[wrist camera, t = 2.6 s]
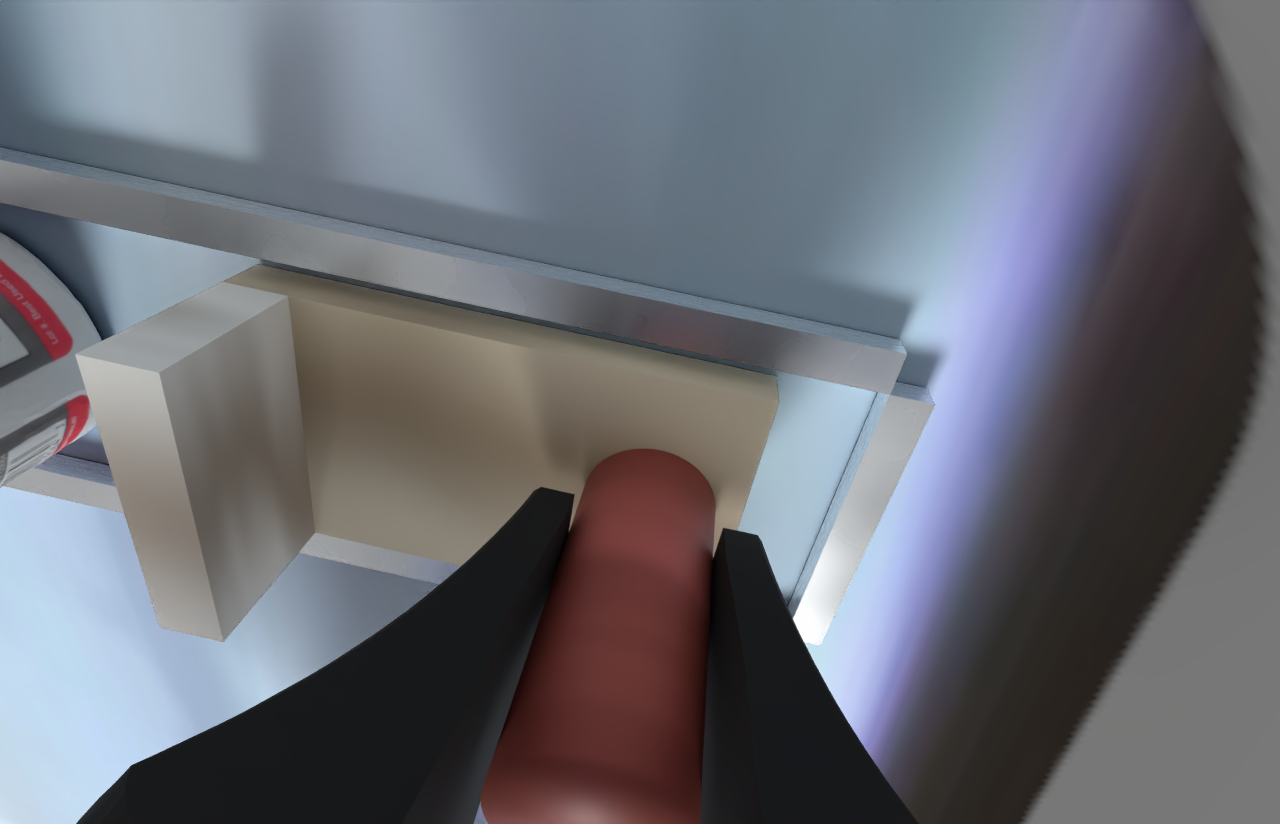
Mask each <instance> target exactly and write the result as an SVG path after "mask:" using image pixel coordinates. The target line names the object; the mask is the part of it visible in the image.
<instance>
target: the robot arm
mask: <svg viewBox="0 0 1280 824" xmlns="http://www.w3.org/2000/svg"><path fill="white" fill-rule="evenodd" d="M574 496H575V494H571V493H567V492H562V491H558V490H553V489H549V488H544V487H540V488H538V489H536V490H534V491H533V492H532V494H531V495H530V496H529V498H528V499H527V500H526V501H525V502H524V503H523V505H522V506H521V507H520V508H519V509H518V510H517V511H516V513H515V514H514V515H513V516H512V517H511V518H510V519H509V520H508V521H507V522H506V523H505V524H504V525H503V526H502V527H501V528H500V529H499V531H498V532H497V533H496V534H495V535H494V536H493V537H491V538H490V539H489V540H488V541H487V542H486V543H485V544H484V545H483V546H482V547H481V548H480V549H479V550H478V551H477V552H476V553H475V554H474V555H473V556H472V557H471V558H470V559H469V560H467V561H466V562H465V563H464V564H463V565H462V566H461V567H460V568H458V569H457V570H456V571H455V572H454V573H453V574H451V575H450V576H449V577H448V578H447V579H446V580H444V581H443V582H442V583H441V584H440V585H438V586H437V587H436V588H435V589H434V590H433V591H431V592H430V593H429V594H428V595H427V596H425V597H424V598H423V599H422V600H420V601H419V602H418V603H416V604H415V605H414V606H413V607H411V608H410V609H409V610H407V611H406V612H405V613H403V614H402V615H401V616H399V617H398V618H397V619H395V620H394V621H392V622H391V623H390V624H388V625H387V626H385V627H384V628H383V629H381V630H380V631H378V632H377V633H376V634H374V635H373V636H371V637H370V638H368V639H367V640H365V641H363V642H362V643H360V644H359V645H357V646H356V647H354V648H353V649H351V650H350V651H348V652H347V653H345V654H344V655H342V656H341V657H339V658H338V659H336V660H334V661H333V662H331V663H330V664H328V665H326V666H325V667H323V668H321V669H320V670H318V671H316V672H315V673H313V674H311V675H310V676H308V677H306V678H304V679H303V680H301V681H299V682H297V683H295V684H294V685H292V686H290V687H288V688H286V689H284V690H283V691H281V692H279V693H277V694H275V695H274V696H272V697H270V698H268V699H266V700H265V701H263V702H261V703H259V704H257V705H256V706H254V707H252V708H250V709H248V710H247V711H245V712H243V713H241V714H239V715H237V716H235V717H233V718H231V719H229V720H227V721H225V722H223V723H221V724H219V725H217V726H215V727H212V728H210V729H208V730H206V731H204V732H202V733H200V734H198V735H196V736H193V737H191V738H189V739H187V740H185V741H183V742H181V743H179V744H177V745H174V746H172V747H170V748H168V749H166V750H164V751H162V752H160V753H158V754H155V755H153V756H151V757H149V758H147V759H144V760H142V761H140V762H138V763H136V764H133V765H131V766H130V767H129V769H128V770H127V771H126V772H125V773H124V774H123V775H122V776H121V777H120V778H119V779H118V780H117V781H116V782H115V783H114V784H113V785H112V786H111V787H110V788H109V789H108V790H107V791H106V792H105V793H104V794H103V795H102V796H101V797H100V798H99V799H98V800H97V801H96V802H95V803H94V804H93V805H92V807H91V808H90V809H89V810H88V811H87V812H86V813H85V814H84V815H83V816H82V817H81V819H80V820H79V821H78V822H77V823H76V824H488V822H487V821H486V819H485V817H484V814H483V812H482V808H481V798H480V797H481V792H482V788H483V785H484V782H485V779H486V776H487V773H488V770H489V767H490V764H491V762H492V759H493V756H494V753H495V750H496V747H497V744H498V741H499V738H500V735H501V732H502V729H503V726H504V723H505V720H506V717H507V714H508V711H509V708H510V705H511V702H512V699H513V696H514V693H515V690H516V688H517V685H518V682H519V679H520V676H521V673H522V670H523V667H524V664H525V661H526V658H527V655H528V652H529V649H530V646H531V643H532V640H533V637H534V634H535V631H536V628H537V625H538V622H539V619H540V616H541V614H542V611H543V608H544V605H545V602H546V599H547V596H548V593H549V590H550V587H551V584H552V581H553V578H554V575H555V572H556V569H557V566H558V563H559V560H560V557H561V554H562V551H563V548H564V545H565V542H566V540H567V537H568V534H569V528H570V522H571V515H572V509H573V503H574ZM700 824H919V823H918V821H917V820H916V819H915V817H914V816H913V815H912V814H911V812H910V811H909V810H908V808H907V807H906V806H905V804H904V803H903V802H902V800H901V799H900V798H899V796H898V795H897V794H896V792H895V791H894V790H893V788H892V787H891V786H890V784H889V783H888V782H887V780H886V779H885V777H884V776H883V774H882V773H881V772H880V770H879V769H878V767H877V766H876V764H875V763H874V761H873V760H872V758H871V757H870V755H869V754H868V752H867V751H866V750H865V748H864V746H863V745H862V743H861V742H860V740H859V739H858V737H857V735H856V734H855V732H854V731H853V729H852V728H851V726H850V724H849V723H848V721H847V720H846V718H845V716H844V715H843V713H842V711H841V710H840V708H839V706H838V705H837V703H836V701H835V699H834V698H833V696H832V694H831V692H830V691H829V689H828V687H827V685H826V683H825V682H824V680H823V678H822V676H821V674H820V672H819V670H818V669H817V667H816V665H815V663H814V661H813V659H812V657H811V655H810V653H809V651H808V649H807V647H806V645H805V643H804V641H803V639H802V637H801V635H800V633H799V631H798V629H797V626H796V624H795V622H794V620H793V618H792V616H791V614H790V612H789V609H788V607H787V605H786V602H785V600H784V598H783V595H782V593H781V591H780V588H779V586H778V583H777V581H776V579H775V576H774V574H773V571H772V568H771V566H770V563H769V561H768V558H767V555H766V552H765V550H764V547H763V544H762V541H761V540H760V538H759V537H758V535H754V534H749V533H745V532H741V531H736V530H732V529H727V528H723V529H722V532H721V536H720V539H719V542H718V545H717V548H716V551H715V554H714V557H713V567H712V588H711V608H710V628H709V648H708V669H707V689H706V709H705V729H704V749H703V769H702V789H701V809H700Z"/></svg>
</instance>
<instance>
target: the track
mask: <svg viewBox="0 0 1280 824" xmlns="http://www.w3.org/2000/svg"><path fill="white" fill-rule="evenodd" d="M0 203H4V204H8V205H13V206H18V207H22V208H27V209H32V210H36V211H41V212H45V213H50V214H55V215H59V216H64V217H69V218H73V219H78V220H83V221H87V222H92V223H96V224H101V225H106V226H110V227H115V228H120V229H124V230H129V231H133V232H138V233H143V234H147V235H152V236H157V237H161V238H166V239H171V240H175V241H180V242H184V243H189V244H194V245H198V246H203V247H208V248H212V249H217V250H221V251H226V252H231V253H235V254H240V255H245V256H249V257H254V258H259V259H263V260H268V261H272V262H277V263H282V264H286V265H291V266H296V267H300V268H305V269H310V270H314V271H319V272H323V273H328V274H333V275H337V276H342V277H347V278H351V279H356V280H360V281H365V282H370V283H374V284H379V285H384V286H388V287H393V288H398V289H402V290H407V291H411V292H416V293H421V294H425V295H430V296H435V297H439V298H444V299H448V300H453V301H458V302H462V303H467V304H472V305H476V306H481V307H486V308H490V309H495V310H499V311H504V312H509V313H513V314H518V315H523V316H527V317H532V318H536V319H541V320H546V321H550V322H555V323H560V324H564V325H569V326H574V327H578V328H583V329H587V330H592V331H597V332H601V333H606V334H611V335H615V336H620V337H624V338H629V339H634V340H638V341H643V342H648V343H652V344H657V345H662V346H666V347H671V348H675V349H680V350H685V351H689V352H694V353H699V354H703V355H708V356H713V357H717V358H722V359H726V360H731V361H736V362H740V363H745V364H750V365H754V366H759V367H763V368H768V369H773V370H777V371H782V372H787V373H791V374H796V375H801V376H805V377H810V378H814V379H819V380H824V381H828V382H833V383H838V384H842V385H847V386H851V387H856V388H861V389H865V390H870V391H875V392H878V393H877V396H876V398H875V400H874V403H873V405H872V408H871V410H870V412H869V415H868V417H867V419H866V422H865V424H864V427H863V429H862V431H861V434H860V436H859V439H858V441H857V443H856V446H855V448H854V450H853V453H852V455H851V458H850V460H849V462H848V465H847V467H846V470H845V472H844V474H843V477H842V479H841V481H840V484H839V486H838V489H837V491H836V493H835V496H834V498H833V500H832V503H831V505H830V508H829V510H828V512H827V515H826V517H825V520H824V522H823V524H822V527H821V529H820V531H819V534H818V536H817V539H816V541H815V543H814V546H813V548H812V551H811V553H810V555H809V558H808V560H807V562H806V565H805V567H804V570H803V572H802V574H801V577H800V579H799V582H798V584H797V586H796V589H795V591H794V593H793V596H792V598H791V601H790V603H789V605H788V609H789V612H790V614H791V616H792V618H793V620H794V622H795V624H796V626H797V629H798V631H799V633H800V635H801V637H802V639H803V641H804V642H806V643H811V644H815V645H821V643H822V641H823V638H824V636H825V634H826V632H827V630H828V628H829V626H830V624H831V622H832V620H833V618H834V615H835V613H836V611H837V609H838V607H839V605H840V603H841V601H842V599H843V597H844V595H845V592H846V590H847V588H848V586H849V584H850V582H851V580H852V578H853V576H854V574H855V572H856V569H857V567H858V565H859V563H860V561H861V559H862V557H863V555H864V553H865V551H866V548H867V546H868V544H869V542H870V540H871V538H872V536H873V534H874V532H875V530H876V528H877V525H878V523H879V521H880V519H881V517H882V515H883V513H884V511H885V509H886V507H887V505H888V502H889V500H890V498H891V496H892V494H893V492H894V490H895V488H896V486H897V484H898V482H899V479H900V477H901V475H902V473H903V471H904V469H905V467H906V465H907V463H908V461H909V459H910V456H911V454H912V452H913V450H914V448H915V446H916V444H917V442H918V440H919V438H920V436H921V433H922V431H923V429H924V427H925V425H926V423H927V421H928V419H929V417H930V415H931V413H932V410H933V408H934V406H935V403H934V401H933V399H932V397H931V395H930V393H929V392H928V390H927V388H923V387H918V386H914V385H909V384H904V383H900V382H896V380H897V377H898V375H899V373H900V370H901V368H902V366H903V363H904V361H905V359H906V356H907V352H906V350H905V348H904V346H903V345H902V343H901V341H900V340H899V339H895V338H890V337H885V336H881V335H876V334H871V333H867V332H862V331H857V330H852V329H848V328H843V327H838V326H834V325H829V324H824V323H820V322H815V321H810V320H806V319H801V318H796V317H792V316H787V315H782V314H778V313H773V312H768V311H764V310H759V309H754V308H750V307H745V306H740V305H736V304H731V303H726V302H722V301H717V300H712V299H708V298H703V297H698V296H694V295H689V294H684V293H679V292H675V291H670V290H665V289H661V288H656V287H651V286H647V285H642V284H637V283H633V282H628V281H623V280H619V279H614V278H609V277H605V276H600V275H595V274H591V273H586V272H581V271H577V270H572V269H567V268H563V267H558V266H553V265H549V264H544V263H539V262H535V261H530V260H525V259H520V258H516V257H511V256H506V255H502V254H497V253H492V252H488V251H483V250H478V249H474V248H469V247H464V246H460V245H455V244H450V243H446V242H441V241H436V240H432V239H427V238H422V237H418V236H413V235H408V234H404V233H399V232H394V231H390V230H385V229H380V228H376V227H371V226H366V225H361V224H357V223H352V222H347V221H343V220H338V219H333V218H329V217H324V216H319V215H315V214H310V213H305V212H301V211H296V210H291V209H287V208H282V207H277V206H273V205H268V204H263V203H259V202H254V201H249V200H245V199H240V198H235V197H231V196H226V195H221V194H217V193H212V192H207V191H202V190H198V189H193V188H188V187H184V186H179V185H174V184H170V183H165V182H160V181H156V180H151V179H146V178H142V177H137V176H132V175H128V174H123V173H118V172H114V171H109V170H104V169H100V168H95V167H90V166H86V165H81V164H76V163H72V162H67V161H62V160H58V159H53V158H48V157H43V156H39V155H34V154H29V153H25V152H20V151H15V150H11V149H6V148H1V147H0ZM4 486H6V487H10V488H15V489H19V490H23V491H28V492H32V493H37V494H41V495H46V496H50V497H54V498H59V499H63V500H68V501H72V502H76V503H81V504H85V505H90V506H94V507H99V508H103V509H107V510H112V511H116V512H121V513H124V511H123V508H122V504H121V501H120V498H119V495H118V491H117V488H116V485H115V482H114V479H113V475H112V472H111V469H110V466H108V465H104V464H100V463H95V462H91V461H86V460H82V459H77V458H73V457H68V456H64V455H59V454H54V455H53V456H51V457H49V458H48V459H46V460H45V461H44V462H42V463H41V464H39V465H37V466H35V467H33V468H31V469H30V470H28V471H27V472H25V473H24V474H22V475H21V476H19V477H17V478H16V479H14V480H12V481H11V482H9V483H7V484H6V485H4ZM299 553H302V554H306V555H311V556H315V557H320V558H324V559H328V560H333V561H337V562H342V563H346V564H351V565H355V566H359V567H364V568H368V569H373V570H377V571H381V572H386V573H390V574H395V575H399V576H404V577H408V578H412V579H417V580H421V581H426V582H430V583H435V584H439V585H440V584H441V583H442V582H443V581H444V580H446V579H447V578H448V577H449V576H450V575H451V574H453V573H454V572H455V571H456V570H457V569H458V568H460V567H461V566H460V565H456V564H451V563H447V562H442V561H438V560H434V559H429V558H425V557H420V556H416V555H411V554H407V553H403V552H398V551H394V550H389V549H385V548H380V547H376V546H371V545H367V544H363V543H358V542H354V541H349V540H345V539H340V538H336V537H332V536H327V535H323V534H318V533H315V534H314V535H313V536H312V537H311V538H310V540H309V541H308V542H307V543H306V544H305V545H304V547H303V548H302V549H301V550H300V551H299Z"/></svg>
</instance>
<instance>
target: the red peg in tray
mask: <svg viewBox="0 0 1280 824" xmlns="http://www.w3.org/2000/svg"><path fill="white" fill-rule="evenodd" d="M75 356H76V359H77V362H78V366H79V369H80V372H81V375H82V379H83V382H84V385H85V388H86V391H87V395H88V398H89V401H90V404H91V408H92V411H93V414H94V417H95V420H96V424H97V427H98V430H99V433H100V437H101V440H102V443H103V446H104V450H105V453H106V456H107V459H108V462H109V466H110V469H111V472H112V475H113V479H114V482H115V485H116V488H117V491H118V495H119V498H120V501H121V504H122V508H123V511H124V514H125V517H126V520H127V524H128V527H129V530H130V533H131V537H132V540H133V543H134V546H135V550H136V553H137V556H138V559H139V562H140V566H141V569H142V572H143V575H144V579H145V582H146V585H147V588H148V591H149V595H150V598H151V601H152V604H153V608H154V611H155V614H156V617H157V620H158V624H159V627H160V628H164V629H169V630H173V631H177V632H182V633H186V634H191V635H195V636H199V637H204V638H208V639H212V640H217V641H221V642H224V641H225V639H226V638H227V637H228V636H229V635H230V634H231V632H232V631H233V630H234V629H235V628H236V626H237V625H238V624H239V623H240V622H241V620H242V619H243V618H244V617H245V616H246V614H247V613H248V612H249V611H250V610H251V609H252V607H253V606H254V605H255V604H256V603H257V601H258V600H259V599H260V598H261V597H262V595H263V594H264V593H265V592H266V591H267V589H268V588H269V587H270V586H271V585H272V584H273V582H274V581H275V580H276V579H277V578H278V576H279V575H280V574H281V573H282V572H283V570H284V569H285V568H286V567H287V566H288V565H289V563H290V562H291V561H292V560H293V559H294V557H295V556H296V555H297V554H298V553H299V551H300V550H301V549H302V548H303V547H304V545H305V544H306V543H307V542H308V541H309V540H310V538H311V537H312V536H313V535H314V534H315V533H318V534H323V535H327V536H332V537H336V538H340V539H345V540H349V541H354V542H358V543H363V544H367V545H371V546H376V547H380V548H385V549H389V550H394V551H398V552H403V553H407V554H411V555H416V556H420V557H425V558H429V559H434V560H438V561H442V562H447V563H451V564H456V565H460V566H462V565H463V564H464V563H465V562H466V561H467V560H469V559H470V558H471V557H472V556H473V555H474V554H475V553H476V552H477V551H478V550H479V549H480V548H481V547H482V546H483V545H484V544H485V543H486V542H487V541H488V540H489V539H490V538H491V537H493V536H494V535H495V534H496V533H497V532H498V531H499V529H500V528H501V527H502V526H503V525H504V524H505V523H506V522H507V521H508V520H509V519H510V518H511V517H512V516H513V515H514V514H515V513H516V511H517V510H518V509H519V508H520V507H521V506H522V505H523V503H524V502H525V501H526V500H527V499H528V498H529V496H530V495H531V494H532V492H533V491H534V490H536V489H538V488H540V487H544V488H549V489H553V490H558V491H562V492H567V493H571V494H575V496H574V503H573V509H572V515H571V522H570V528H569V534H568V537H567V540H566V542H565V545H564V548H563V551H562V554H561V557H560V560H559V563H558V566H557V569H556V572H555V575H554V578H553V581H552V584H551V587H550V590H549V593H548V596H547V599H546V602H545V605H544V608H543V611H542V614H541V616H540V619H539V622H538V625H537V628H536V631H535V634H534V637H533V640H532V643H531V646H530V649H529V652H528V655H527V658H526V661H525V664H524V667H523V670H522V673H521V676H520V679H519V682H518V685H517V688H516V690H515V693H514V696H513V699H512V702H511V705H510V708H509V711H508V714H507V717H506V720H505V723H504V726H503V729H502V732H501V735H500V738H499V741H498V744H497V747H496V750H495V753H494V756H493V759H492V762H491V764H490V767H489V770H488V773H487V776H486V779H485V782H484V785H483V788H482V792H481V797H480V798H481V808H482V812H483V814H484V817H485V819H486V821H487V822H488V824H700V809H701V789H702V769H703V749H704V729H705V709H706V689H707V669H708V648H709V628H710V608H711V588H712V567H713V557H714V554H715V551H716V548H717V545H718V542H719V539H720V536H721V532H722V529H723V528H727V529H732V530H736V531H737V529H738V526H739V523H740V520H741V517H742V514H743V511H744V508H745V505H746V502H747V499H748V495H749V492H750V489H751V486H752V483H753V480H754V477H755V474H756V471H757V468H758V465H759V462H760V459H761V456H762V453H763V450H764V447H765V444H766V441H767V438H768V435H769V432H770V429H771V426H772V423H773V420H774V417H775V414H776V411H777V408H778V405H779V395H778V385H777V376H773V375H768V374H764V373H759V372H754V371H750V370H745V369H740V368H736V367H731V366H727V365H722V364H717V363H713V362H708V361H703V360H699V359H694V358H690V357H685V356H680V355H676V354H671V353H666V352H662V351H657V350H653V349H648V348H643V347H639V346H634V345H629V344H625V343H620V342H615V341H611V340H606V339H602V338H597V337H592V336H588V335H583V334H578V333H574V332H569V331H565V330H560V329H555V328H551V327H546V326H541V325H537V324H532V323H528V322H523V321H518V320H514V319H509V318H504V317H500V316H495V315H491V314H486V313H481V312H477V311H472V310H467V309H463V308H458V307H454V306H449V305H444V304H440V303H435V302H430V301H426V300H421V299H417V298H412V297H407V296H403V295H398V294H393V293H389V292H384V291H379V290H375V289H370V288H366V287H361V286H356V285H352V284H347V283H342V282H338V281H333V280H329V279H324V278H319V277H315V276H310V275H305V274H301V273H296V272H292V271H287V270H282V269H278V268H273V267H268V266H264V265H259V264H258V265H256V266H253V267H251V268H249V269H247V270H245V271H243V272H241V273H239V274H237V275H235V276H233V277H231V278H229V279H227V280H225V281H223V282H221V283H219V284H217V285H215V286H213V287H211V288H209V289H207V290H205V291H203V292H201V293H199V294H196V295H194V296H192V297H190V298H188V299H186V300H184V301H182V302H180V303H178V304H176V305H174V306H172V307H170V308H168V309H166V310H164V311H162V312H160V313H158V314H156V315H154V316H152V317H150V318H148V319H146V320H144V321H141V322H139V323H137V324H135V325H133V326H131V327H129V328H127V329H125V330H123V331H121V332H119V333H117V334H115V335H113V336H111V337H109V338H107V339H105V340H103V341H101V342H99V343H97V344H95V345H93V346H91V347H89V348H86V349H84V350H82V351H80V352H78V353H76V354H75Z"/></svg>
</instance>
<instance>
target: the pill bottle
mask: <svg viewBox="0 0 1280 824" xmlns="http://www.w3.org/2000/svg"><path fill="white" fill-rule="evenodd" d="M101 341H102V340H101V338H100V336H99V334H98V332H97V330H96V328H95V326H94V324H93V323H92V321H91V319H90V318H89V316H88V314H87V313H86V311H85V310H84V308H83V306H82V305H81V303H80V302H79V301H78V300H77V299H76V298H75V297H74V296H73V295H72V293H71V292H70V291H69V289H68V288H67V287H66V286H65V285H64V284H63V283H62V282H61V281H60V280H59V279H58V278H57V277H56V276H55V275H54V274H53V273H52V272H51V271H50V270H49V269H48V268H47V267H46V266H45V265H44V264H43V263H42V262H41V261H40V260H39V259H38V258H36V257H35V256H34V255H32V254H31V253H30V252H29V251H28V250H26V249H25V248H24V247H22V246H21V245H20V244H18V243H17V242H15V241H14V240H12V239H11V238H9V237H8V236H6V235H4V234H2V233H1V232H0V488H1V487H2V486H4V485H6V484H7V483H9V482H11V481H12V480H14V479H16V478H17V477H19V476H21V475H22V474H24V473H25V472H27V471H28V470H30V469H31V468H33V467H35V466H37V465H39V464H41V463H42V462H44V461H45V460H46V459H48V458H49V457H51V456H53V455H54V454H56V453H57V452H59V451H60V450H62V449H63V448H64V447H66V446H67V445H68V444H70V443H72V442H74V441H76V440H77V439H79V438H80V437H82V436H83V435H85V434H86V433H87V432H89V431H90V430H91V429H93V428H94V426H95V425H96V420H95V417H94V414H93V411H92V408H91V404H90V401H89V398H88V395H87V391H86V388H85V385H84V382H83V379H82V375H81V372H80V369H79V366H78V362H77V359H76V356H75V354H76V353H78V352H80V351H82V350H84V349H86V348H89V347H91V346H93V345H95V344H97V343H99V342H101Z"/></svg>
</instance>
